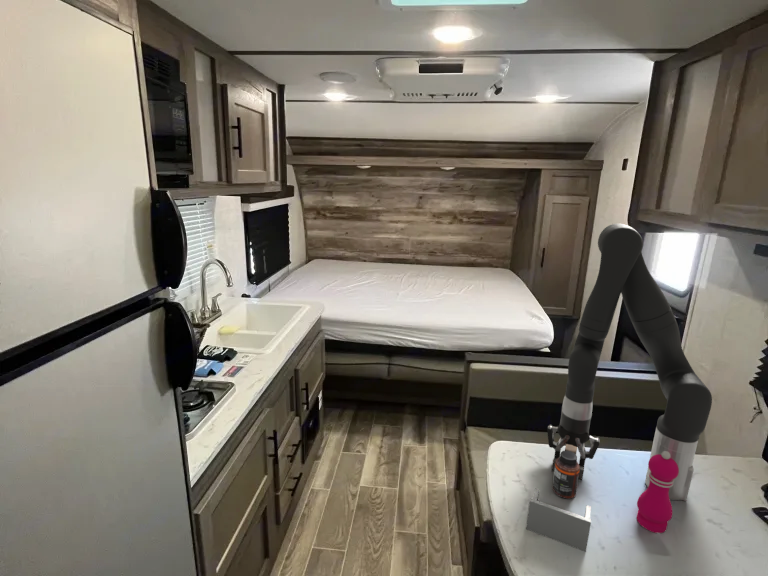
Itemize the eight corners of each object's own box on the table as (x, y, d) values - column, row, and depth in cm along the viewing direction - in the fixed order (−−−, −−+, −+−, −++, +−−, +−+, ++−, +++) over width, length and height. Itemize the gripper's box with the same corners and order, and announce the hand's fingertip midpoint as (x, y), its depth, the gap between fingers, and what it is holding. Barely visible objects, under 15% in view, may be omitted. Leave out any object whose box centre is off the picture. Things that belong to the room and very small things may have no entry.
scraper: (584, 465, 125) (587, 447, 123) (582, 481, 118) (585, 462, 117) (554, 456, 128) (557, 439, 127) (551, 471, 122) (554, 453, 120)
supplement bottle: (571, 484, 117) (577, 448, 114) (579, 500, 111) (585, 463, 108) (549, 482, 117) (554, 447, 114) (555, 498, 112) (560, 461, 109)
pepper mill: (639, 507, 109) (653, 438, 104) (672, 523, 104) (688, 452, 99) (630, 522, 104) (644, 451, 99) (664, 540, 99) (681, 466, 94)
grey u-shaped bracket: (588, 518, 105) (593, 491, 103) (585, 551, 96) (590, 522, 94) (533, 499, 111) (537, 473, 109) (525, 529, 102) (529, 500, 100)
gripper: (605, 412, 119) (596, 464, 124) (551, 399, 126) (544, 449, 130) (604, 425, 113) (595, 480, 117) (547, 411, 119) (540, 463, 124)
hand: (568, 463), depth 124 cm, fingers open, 5 cm apart
